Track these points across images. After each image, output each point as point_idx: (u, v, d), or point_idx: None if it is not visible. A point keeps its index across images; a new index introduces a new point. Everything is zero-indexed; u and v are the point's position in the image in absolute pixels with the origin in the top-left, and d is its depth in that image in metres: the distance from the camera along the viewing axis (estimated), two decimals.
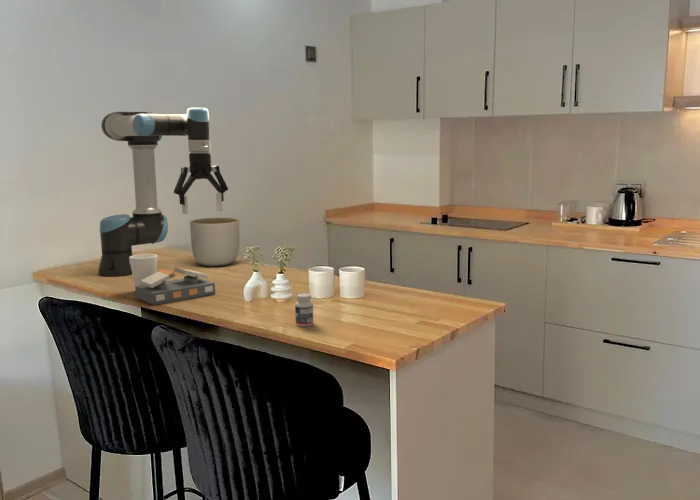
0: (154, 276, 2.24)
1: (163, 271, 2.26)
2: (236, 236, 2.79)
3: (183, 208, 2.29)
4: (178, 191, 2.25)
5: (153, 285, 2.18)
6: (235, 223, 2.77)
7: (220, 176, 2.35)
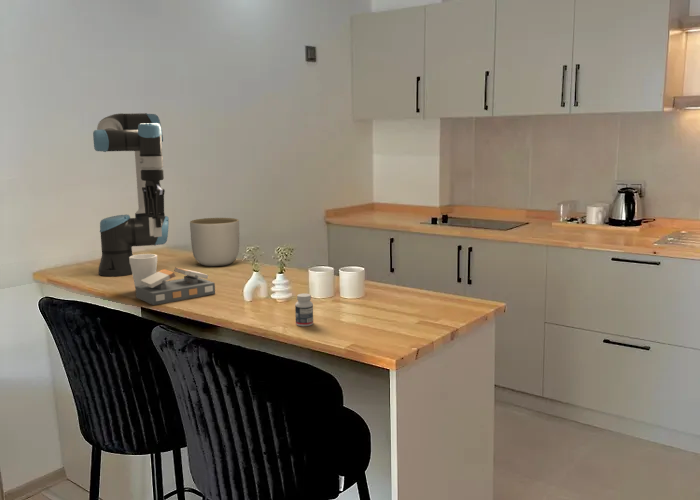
0: (154, 276, 2.24)
1: (163, 271, 2.26)
2: (236, 236, 2.79)
3: None
4: (145, 212, 2.30)
5: (153, 285, 2.18)
6: (235, 223, 2.77)
7: (156, 200, 2.22)
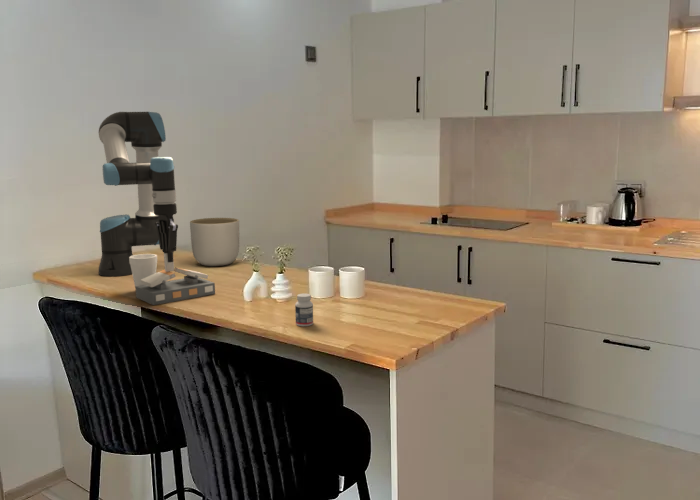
0: (154, 275, 2.24)
1: (163, 271, 2.26)
2: (236, 236, 2.79)
3: None
4: (160, 247, 2.25)
5: (153, 284, 2.18)
6: (235, 223, 2.77)
7: (169, 235, 2.19)
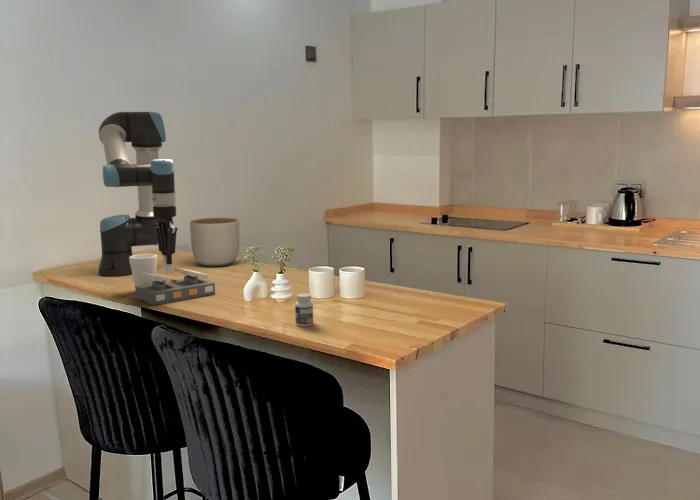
0: (157, 275, 2.24)
1: (166, 276, 2.27)
2: (236, 236, 2.79)
3: None
4: (159, 249, 2.26)
5: (154, 278, 2.18)
6: (235, 223, 2.77)
7: (168, 238, 2.19)
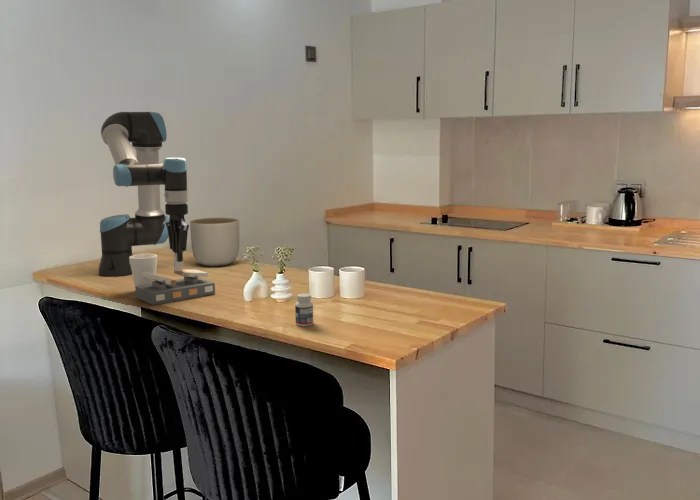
0: None
1: (166, 277, 2.27)
2: (236, 236, 2.79)
3: None
4: (170, 246, 2.28)
5: (154, 277, 2.18)
6: (235, 223, 2.77)
7: (179, 235, 2.22)
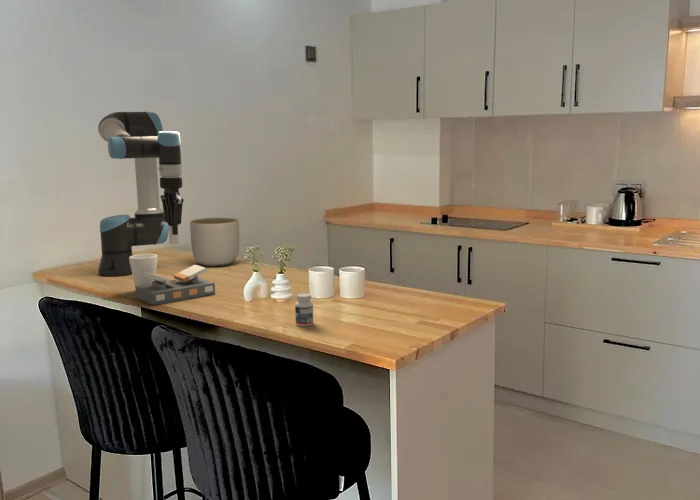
0: None
1: (166, 277, 2.27)
2: (236, 236, 2.79)
3: None
4: (165, 220, 2.30)
5: (154, 277, 2.18)
6: (235, 223, 2.77)
7: (174, 208, 2.24)
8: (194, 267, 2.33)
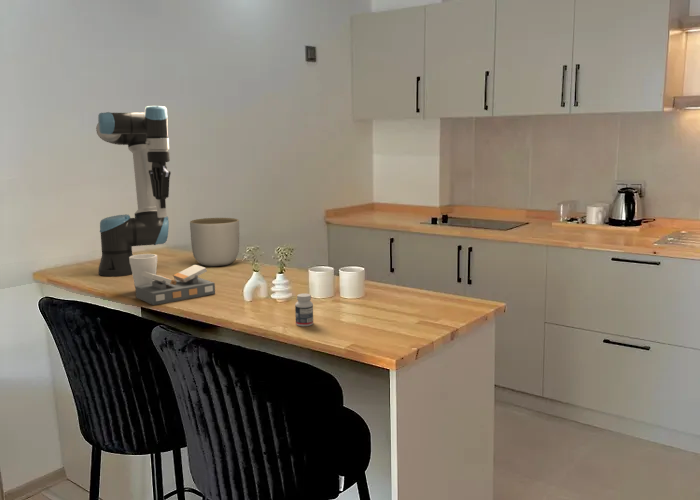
0: None
1: (166, 277, 2.27)
2: (236, 236, 2.79)
3: None
4: (153, 194, 2.34)
5: (154, 277, 2.18)
6: (235, 223, 2.77)
7: (162, 181, 2.28)
8: (194, 267, 2.33)
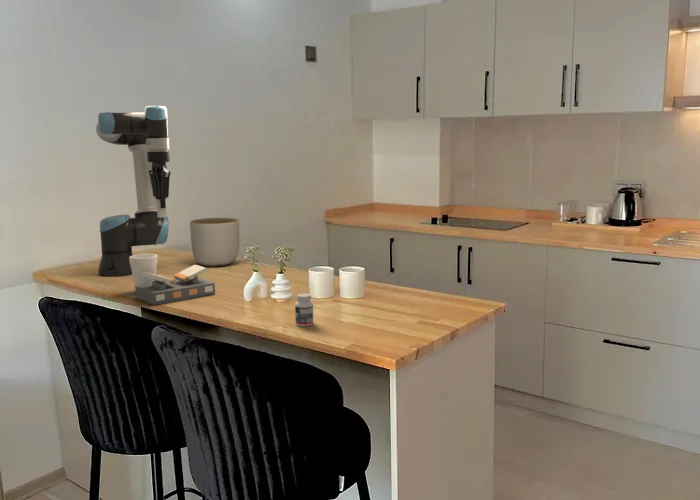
0: None
1: (166, 277, 2.27)
2: (236, 236, 2.79)
3: None
4: (153, 194, 2.34)
5: (154, 277, 2.18)
6: (235, 223, 2.77)
7: (162, 181, 2.28)
8: (194, 267, 2.33)
